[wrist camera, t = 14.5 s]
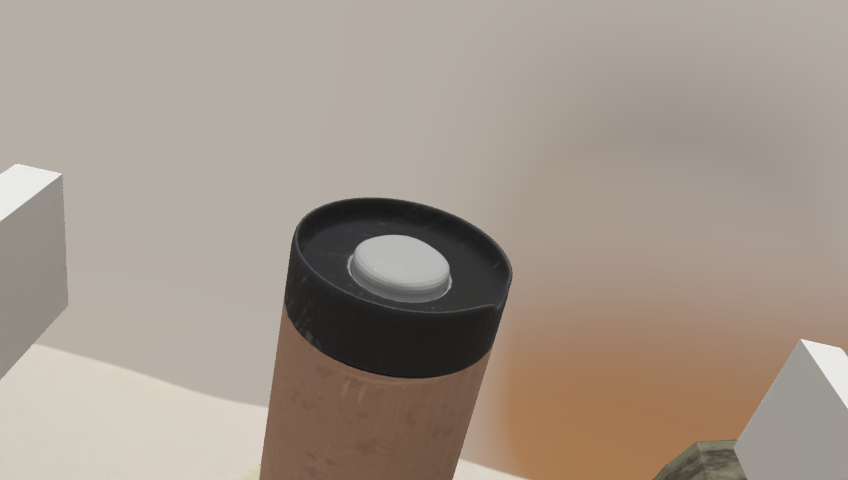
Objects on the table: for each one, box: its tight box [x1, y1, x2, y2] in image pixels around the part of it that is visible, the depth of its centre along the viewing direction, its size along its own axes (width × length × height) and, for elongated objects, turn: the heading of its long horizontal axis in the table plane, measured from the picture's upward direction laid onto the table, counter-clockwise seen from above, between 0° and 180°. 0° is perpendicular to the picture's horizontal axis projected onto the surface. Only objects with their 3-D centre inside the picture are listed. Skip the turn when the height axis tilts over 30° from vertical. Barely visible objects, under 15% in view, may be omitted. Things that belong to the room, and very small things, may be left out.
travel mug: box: [259, 198, 512, 480], centre depth 28 cm, size 8×8×20 cm
